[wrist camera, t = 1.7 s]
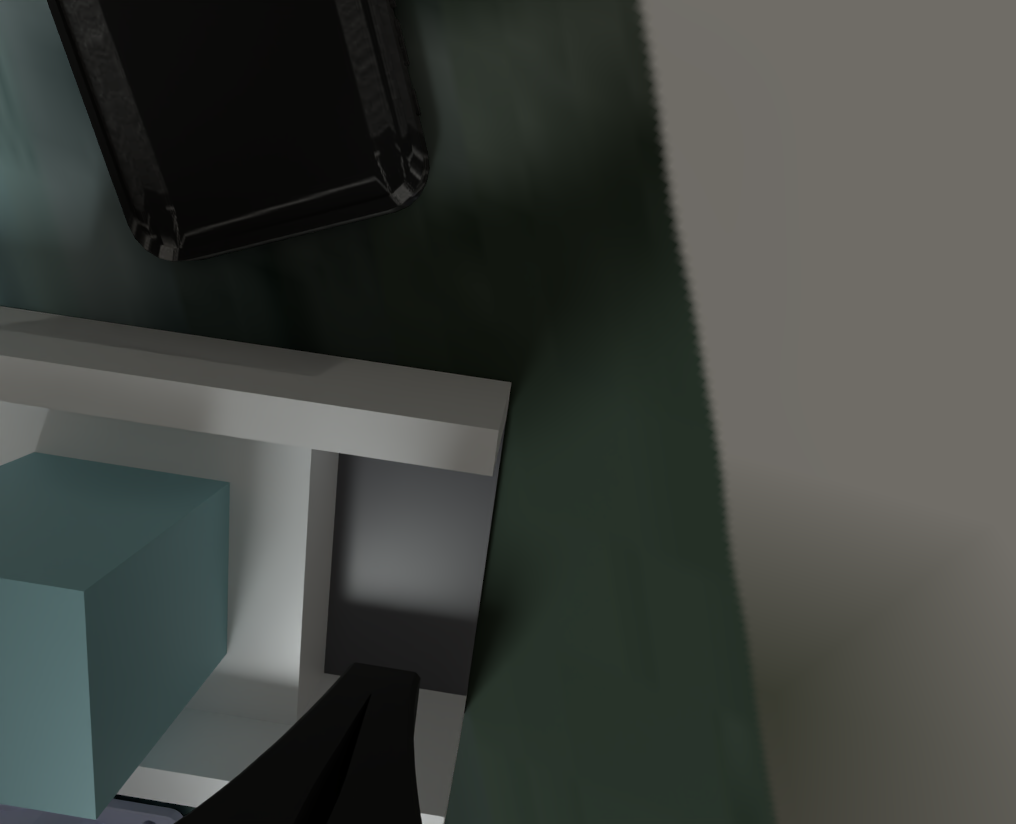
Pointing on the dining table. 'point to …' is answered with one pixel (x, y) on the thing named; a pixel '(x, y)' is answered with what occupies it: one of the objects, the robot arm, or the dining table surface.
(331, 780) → the robot arm
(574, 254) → the dining table surface
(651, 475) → the dining table surface
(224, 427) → the grey channel
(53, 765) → the teal block
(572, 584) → the dining table surface
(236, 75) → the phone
